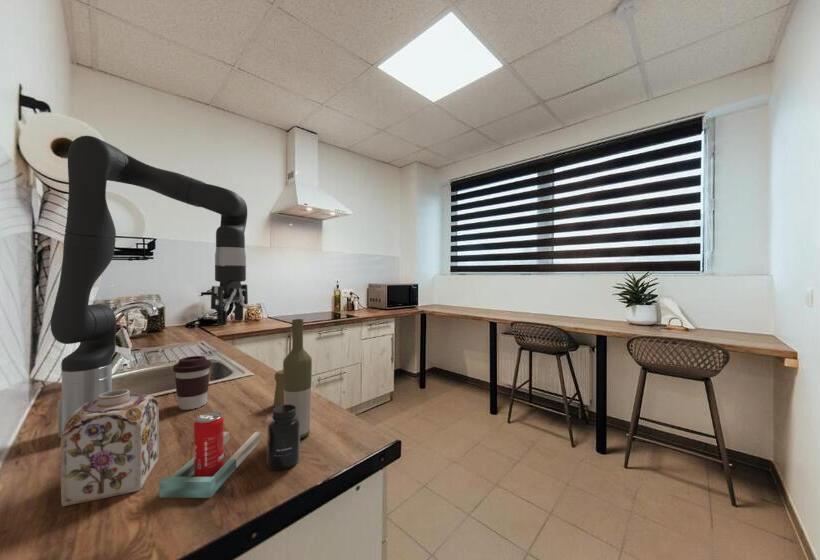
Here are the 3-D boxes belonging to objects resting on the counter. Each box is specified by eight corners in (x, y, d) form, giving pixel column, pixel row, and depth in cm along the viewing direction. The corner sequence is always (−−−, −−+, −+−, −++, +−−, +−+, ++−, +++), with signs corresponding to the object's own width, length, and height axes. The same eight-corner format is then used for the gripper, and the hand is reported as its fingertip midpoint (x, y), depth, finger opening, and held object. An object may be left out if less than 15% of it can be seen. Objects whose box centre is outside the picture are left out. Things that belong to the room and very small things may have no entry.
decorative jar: (58, 509, 57) (57, 408, 57) (91, 471, 68) (90, 386, 67) (142, 491, 62) (141, 398, 61) (161, 459, 72) (160, 379, 72)
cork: (268, 406, 101) (268, 372, 101) (283, 400, 107) (282, 366, 106) (283, 410, 99) (283, 374, 99) (297, 402, 104) (297, 369, 104)
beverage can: (210, 483, 64) (209, 423, 64) (188, 479, 65) (187, 421, 65) (229, 467, 69) (229, 412, 69) (208, 464, 70) (208, 410, 70)
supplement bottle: (280, 475, 67) (280, 418, 67) (260, 464, 71) (260, 410, 70) (306, 459, 73) (306, 406, 73) (287, 450, 77) (287, 400, 76)
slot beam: (159, 497, 60) (159, 481, 60) (223, 439, 81) (223, 427, 81) (210, 497, 60) (210, 481, 60) (261, 439, 81) (261, 427, 81)
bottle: (300, 425, 89) (300, 317, 88) (317, 433, 85) (317, 319, 84) (277, 436, 83) (277, 320, 82) (294, 444, 79) (294, 322, 78)
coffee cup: (217, 403, 103) (217, 357, 103) (182, 415, 95) (182, 364, 94) (202, 397, 108) (201, 352, 108) (167, 407, 100) (167, 359, 100)
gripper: (231, 264, 97) (231, 318, 97) (200, 263, 82) (200, 326, 83) (256, 265, 97) (256, 319, 97) (230, 263, 83) (230, 326, 83)
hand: (230, 322), depth 90 cm, fingers open, 8 cm apart
